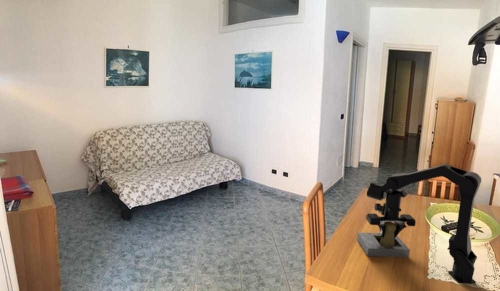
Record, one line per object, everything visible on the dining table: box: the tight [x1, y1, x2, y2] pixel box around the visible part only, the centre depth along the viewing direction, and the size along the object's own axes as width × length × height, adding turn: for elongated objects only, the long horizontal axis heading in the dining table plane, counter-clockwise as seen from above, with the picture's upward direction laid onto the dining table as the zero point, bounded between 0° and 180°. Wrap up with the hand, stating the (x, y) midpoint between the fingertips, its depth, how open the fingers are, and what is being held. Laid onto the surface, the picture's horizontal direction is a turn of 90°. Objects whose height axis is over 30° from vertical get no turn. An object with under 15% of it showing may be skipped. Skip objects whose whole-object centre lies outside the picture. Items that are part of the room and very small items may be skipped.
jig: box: [356, 232, 411, 258], centre depth 134 cm, size 13×17×4 cm
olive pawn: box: [379, 222, 396, 247], centre depth 133 cm, size 6×6×11 cm
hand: (387, 238), depth 134 cm, fingers closed on olive pawn, 4 cm apart
